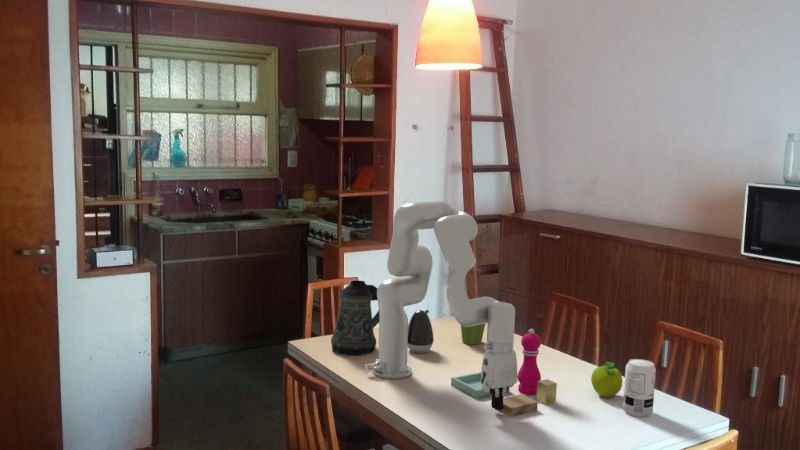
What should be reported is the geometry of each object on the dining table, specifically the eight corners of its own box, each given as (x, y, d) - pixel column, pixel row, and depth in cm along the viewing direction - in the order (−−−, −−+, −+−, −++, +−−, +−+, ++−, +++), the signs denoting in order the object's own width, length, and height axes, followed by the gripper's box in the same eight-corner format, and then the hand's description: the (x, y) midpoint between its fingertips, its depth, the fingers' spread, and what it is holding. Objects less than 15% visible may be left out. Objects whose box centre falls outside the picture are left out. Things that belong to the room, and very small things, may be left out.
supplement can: (618, 407, 213) (621, 358, 211) (645, 407, 213) (649, 358, 211) (629, 418, 205) (633, 367, 203) (657, 418, 205) (661, 367, 203)
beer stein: (321, 348, 261) (322, 281, 258) (358, 338, 276) (360, 274, 272) (353, 359, 250) (355, 289, 247) (391, 347, 265) (392, 281, 261)
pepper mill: (540, 396, 220) (543, 333, 217) (516, 394, 221) (519, 331, 218) (540, 388, 227) (543, 326, 224) (517, 386, 228) (520, 324, 225)
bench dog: (545, 404, 213) (546, 385, 212) (536, 400, 216) (537, 381, 216) (555, 402, 215) (556, 383, 214) (546, 398, 218) (547, 379, 218)
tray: (476, 398, 216) (476, 390, 216) (451, 385, 227) (451, 377, 227) (509, 391, 223) (509, 383, 223) (483, 378, 234) (483, 371, 234)
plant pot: (489, 347, 268) (490, 318, 267) (457, 346, 268) (458, 317, 267) (486, 338, 280) (487, 310, 279) (455, 337, 280) (456, 309, 279)
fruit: (621, 392, 225) (623, 361, 223) (620, 403, 216) (622, 371, 215) (591, 388, 228) (593, 358, 226) (589, 398, 219) (591, 367, 218)
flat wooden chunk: (510, 418, 203) (511, 408, 203) (494, 410, 209) (495, 400, 209) (537, 411, 209) (537, 401, 208) (520, 403, 214) (521, 394, 214)
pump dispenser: (438, 350, 263) (440, 309, 261) (424, 357, 255) (425, 315, 253) (414, 345, 269) (416, 305, 267) (399, 351, 260) (401, 310, 258)
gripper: (487, 353, 196) (484, 417, 199) (528, 346, 204) (525, 408, 206) (470, 346, 203) (468, 408, 205) (511, 339, 210) (508, 399, 213)
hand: (496, 408), depth 206 cm, fingers closed
